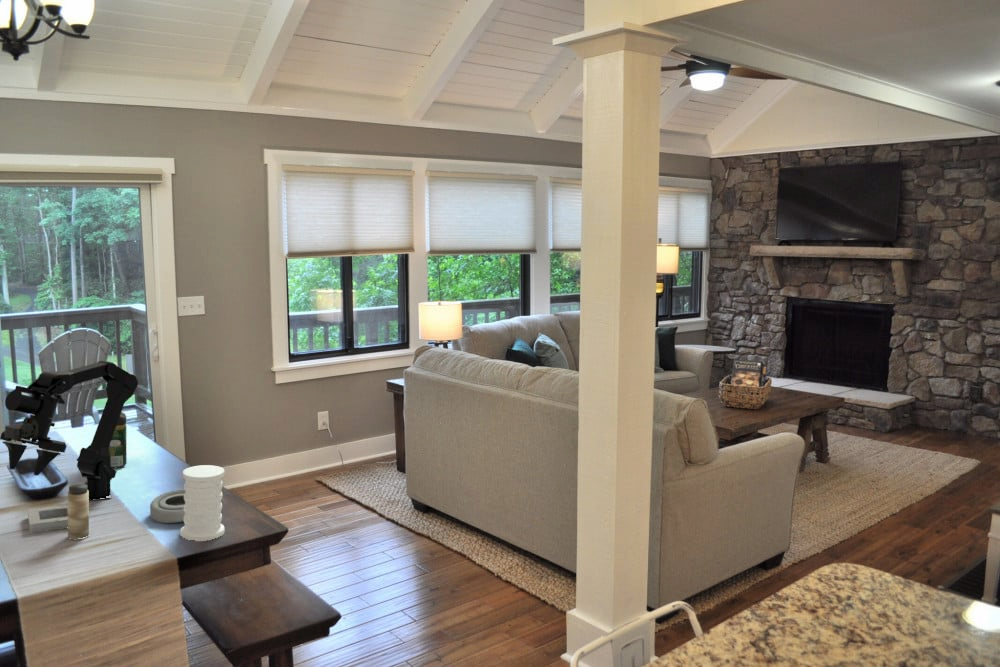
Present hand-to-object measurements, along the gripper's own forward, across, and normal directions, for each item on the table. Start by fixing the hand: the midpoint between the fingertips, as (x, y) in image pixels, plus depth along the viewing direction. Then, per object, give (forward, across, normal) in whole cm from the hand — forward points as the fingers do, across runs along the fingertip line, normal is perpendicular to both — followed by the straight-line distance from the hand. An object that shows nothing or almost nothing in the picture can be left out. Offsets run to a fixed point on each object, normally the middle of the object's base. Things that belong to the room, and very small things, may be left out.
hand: (23, 472), depth 219 cm
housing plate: (+12, +6, +9) cm, 16 cm away
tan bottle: (+13, +19, +6) cm, 24 cm away
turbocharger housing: (+4, +30, +30) cm, 43 cm away
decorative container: (+7, +45, +23) cm, 51 cm away
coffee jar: (-4, -20, +52) cm, 56 cm away
